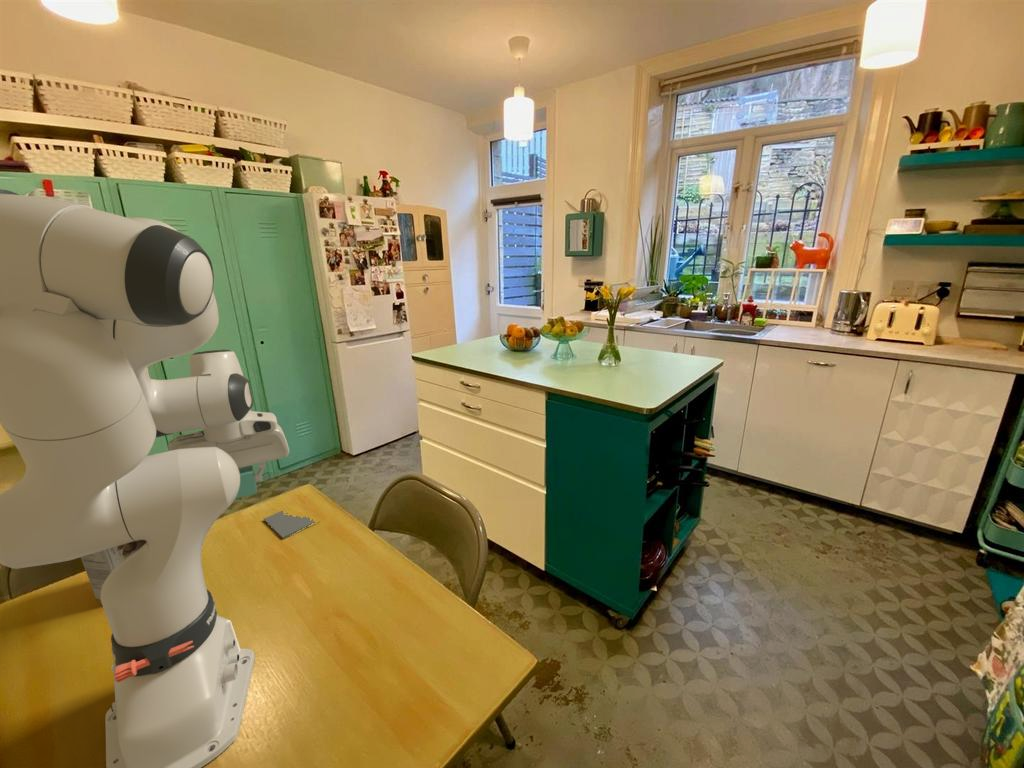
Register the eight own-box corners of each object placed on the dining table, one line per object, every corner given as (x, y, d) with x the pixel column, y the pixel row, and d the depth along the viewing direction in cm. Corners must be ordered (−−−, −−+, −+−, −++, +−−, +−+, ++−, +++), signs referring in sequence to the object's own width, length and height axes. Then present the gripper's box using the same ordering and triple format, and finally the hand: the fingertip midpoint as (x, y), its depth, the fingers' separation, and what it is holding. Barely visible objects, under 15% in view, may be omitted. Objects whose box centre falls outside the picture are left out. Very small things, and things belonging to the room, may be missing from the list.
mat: (319, 522, 108) (319, 520, 108) (283, 539, 102) (282, 537, 102) (299, 505, 116) (298, 503, 116) (263, 520, 109) (263, 518, 109)
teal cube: (257, 493, 91) (252, 472, 90) (229, 500, 89) (224, 479, 87) (256, 483, 95) (252, 463, 94) (229, 490, 93) (225, 469, 91)
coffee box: (138, 568, 93) (118, 504, 88) (164, 570, 92) (144, 506, 88) (94, 600, 84) (68, 531, 80) (121, 603, 83) (97, 533, 79)
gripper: (163, 442, 80) (181, 507, 84) (284, 420, 90) (294, 478, 94) (167, 432, 85) (184, 493, 89) (281, 412, 95) (291, 467, 99)
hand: (242, 485), depth 91 cm, fingers closed on teal cube, 5 cm apart
